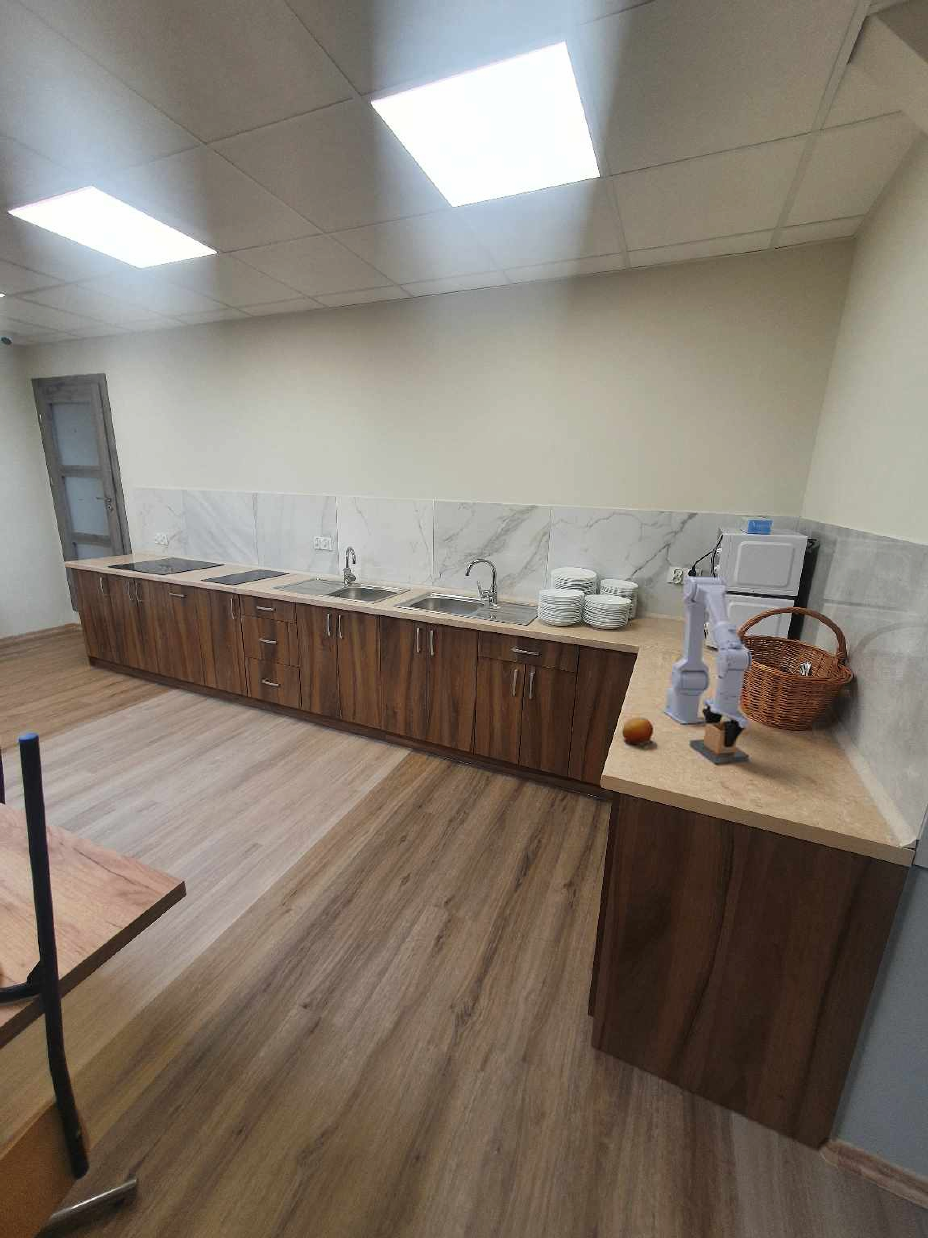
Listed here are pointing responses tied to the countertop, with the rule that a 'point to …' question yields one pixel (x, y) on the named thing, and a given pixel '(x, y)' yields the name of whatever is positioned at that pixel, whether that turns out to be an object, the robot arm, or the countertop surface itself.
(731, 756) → the post base
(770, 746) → the countertop surface
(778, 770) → the countertop surface
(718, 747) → the collar
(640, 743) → the fruit
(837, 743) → the countertop surface
